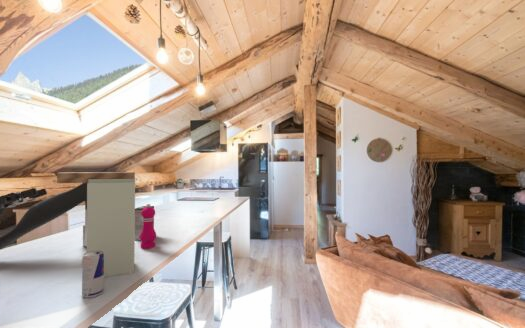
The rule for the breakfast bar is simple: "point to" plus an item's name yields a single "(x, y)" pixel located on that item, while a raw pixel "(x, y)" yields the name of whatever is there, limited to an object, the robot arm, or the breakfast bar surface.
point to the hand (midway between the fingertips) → (41, 191)
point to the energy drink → (92, 274)
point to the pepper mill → (148, 228)
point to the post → (112, 223)
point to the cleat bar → (91, 176)
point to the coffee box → (139, 222)
